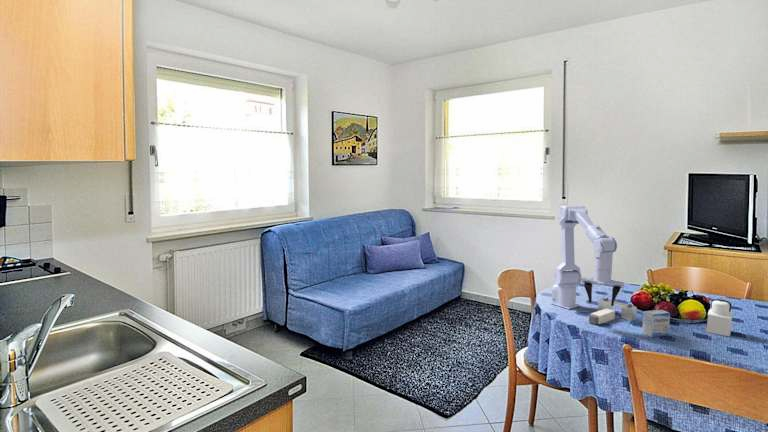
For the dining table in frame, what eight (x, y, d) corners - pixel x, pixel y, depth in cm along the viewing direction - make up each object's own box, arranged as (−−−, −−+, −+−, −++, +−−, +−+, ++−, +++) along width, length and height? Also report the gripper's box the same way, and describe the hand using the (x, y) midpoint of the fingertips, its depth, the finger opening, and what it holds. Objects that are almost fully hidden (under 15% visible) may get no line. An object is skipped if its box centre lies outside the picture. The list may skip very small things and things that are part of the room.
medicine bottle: (707, 326, 175) (710, 296, 173) (730, 331, 171) (734, 300, 169) (705, 332, 170) (708, 301, 168) (729, 337, 165) (733, 305, 163)
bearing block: (598, 311, 193) (599, 297, 192) (602, 309, 194) (603, 296, 194) (631, 321, 181) (632, 306, 180) (635, 319, 183) (636, 305, 182)
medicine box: (651, 337, 164) (653, 314, 163) (641, 333, 169) (643, 310, 168) (668, 335, 167) (670, 312, 165) (658, 331, 171) (660, 308, 170)
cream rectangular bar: (596, 326, 177) (596, 317, 176) (587, 323, 180) (588, 314, 179) (616, 318, 185) (617, 310, 184) (608, 316, 188) (608, 307, 187)
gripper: (581, 268, 173) (579, 303, 175) (624, 273, 166) (621, 309, 168) (583, 264, 179) (581, 298, 181) (625, 269, 172) (623, 304, 174)
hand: (601, 303), depth 175 cm, fingers open, 7 cm apart
